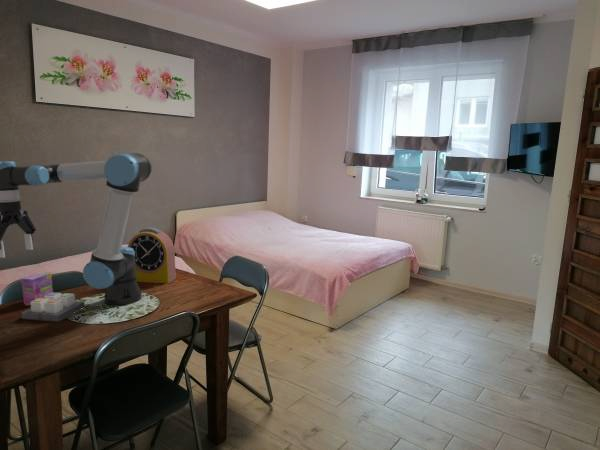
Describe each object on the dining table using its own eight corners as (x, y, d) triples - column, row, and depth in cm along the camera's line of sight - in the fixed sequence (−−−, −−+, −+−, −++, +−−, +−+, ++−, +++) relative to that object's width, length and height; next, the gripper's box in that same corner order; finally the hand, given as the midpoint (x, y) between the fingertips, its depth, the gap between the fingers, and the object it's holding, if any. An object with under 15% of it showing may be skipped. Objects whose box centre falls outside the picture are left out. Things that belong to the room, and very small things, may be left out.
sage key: (75, 303, 176) (74, 293, 176) (67, 307, 172) (66, 296, 171) (65, 302, 177) (64, 292, 176) (58, 306, 173) (57, 296, 172)
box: (35, 306, 179) (32, 279, 177) (23, 305, 181) (20, 278, 178) (54, 298, 189) (51, 272, 187) (43, 297, 191) (40, 271, 189)
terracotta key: (63, 309, 170) (62, 299, 169) (55, 313, 165) (54, 303, 164) (53, 308, 170) (52, 298, 170) (45, 312, 166) (43, 302, 165)
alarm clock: (128, 281, 214) (124, 229, 209) (138, 275, 222) (134, 225, 218) (168, 283, 210) (165, 230, 206) (176, 277, 219) (173, 227, 214)
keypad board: (84, 307, 178) (84, 301, 178) (58, 321, 163) (58, 315, 163) (50, 305, 181) (50, 299, 180) (22, 318, 166) (21, 312, 166)
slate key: (62, 302, 177) (61, 292, 177) (54, 306, 173) (53, 296, 172) (52, 301, 178) (51, 291, 177) (44, 305, 174) (43, 295, 173)
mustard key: (49, 308, 171) (48, 298, 170) (41, 312, 166) (40, 302, 166) (40, 307, 171) (38, 297, 171) (31, 311, 167) (30, 301, 166)
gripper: (26, 197, 182) (32, 246, 186) (-29, 204, 158) (-20, 260, 162) (41, 197, 181) (47, 246, 184) (-12, 205, 157) (-4, 261, 160)
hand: (16, 253), depth 173 cm, fingers open, 13 cm apart
